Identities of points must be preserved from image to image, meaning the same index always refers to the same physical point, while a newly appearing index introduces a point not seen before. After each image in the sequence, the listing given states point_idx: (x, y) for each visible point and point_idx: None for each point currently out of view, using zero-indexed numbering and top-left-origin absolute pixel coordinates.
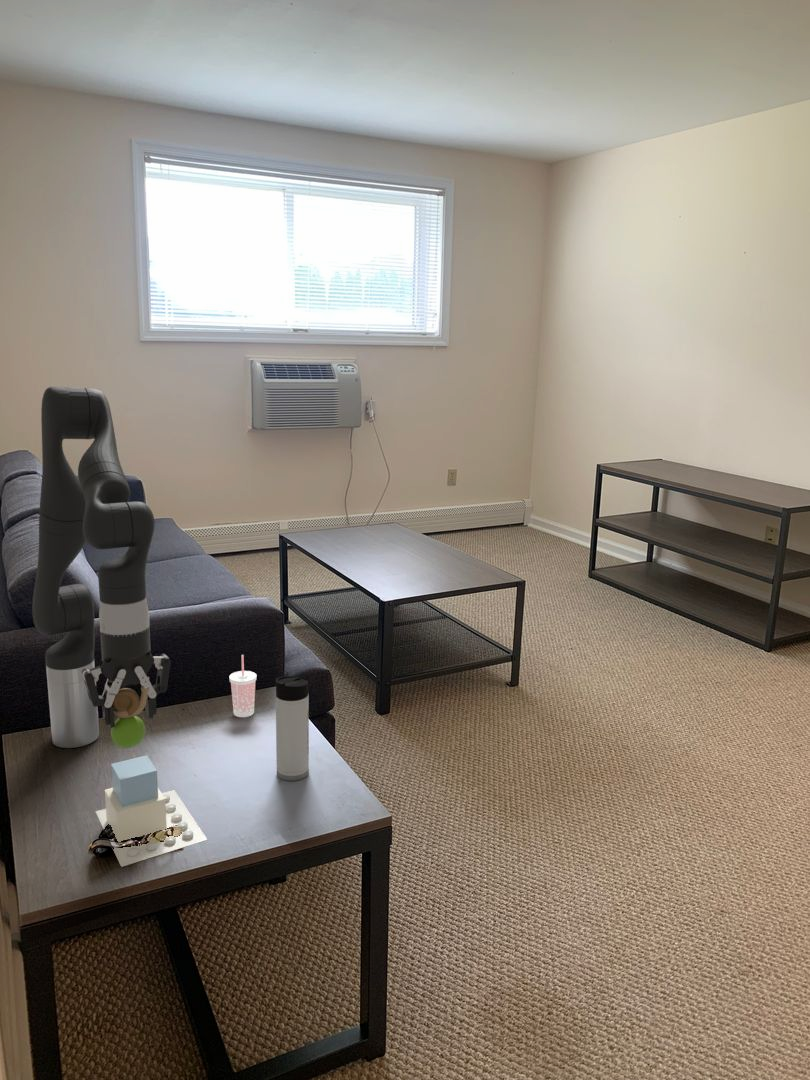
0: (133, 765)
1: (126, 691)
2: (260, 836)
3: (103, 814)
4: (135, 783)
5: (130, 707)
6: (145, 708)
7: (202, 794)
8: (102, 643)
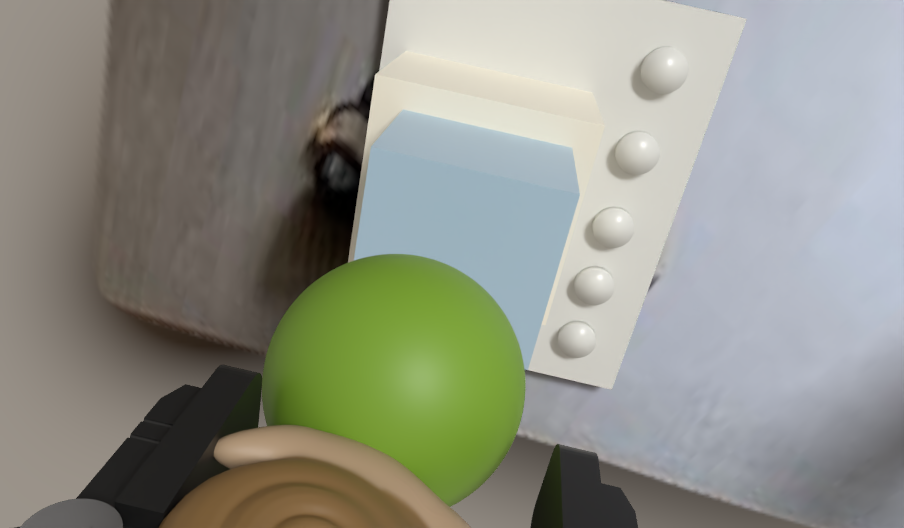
0: (461, 246)
1: None
2: (755, 448)
3: None
4: None
5: None
6: (557, 493)
7: (822, 100)
8: None
